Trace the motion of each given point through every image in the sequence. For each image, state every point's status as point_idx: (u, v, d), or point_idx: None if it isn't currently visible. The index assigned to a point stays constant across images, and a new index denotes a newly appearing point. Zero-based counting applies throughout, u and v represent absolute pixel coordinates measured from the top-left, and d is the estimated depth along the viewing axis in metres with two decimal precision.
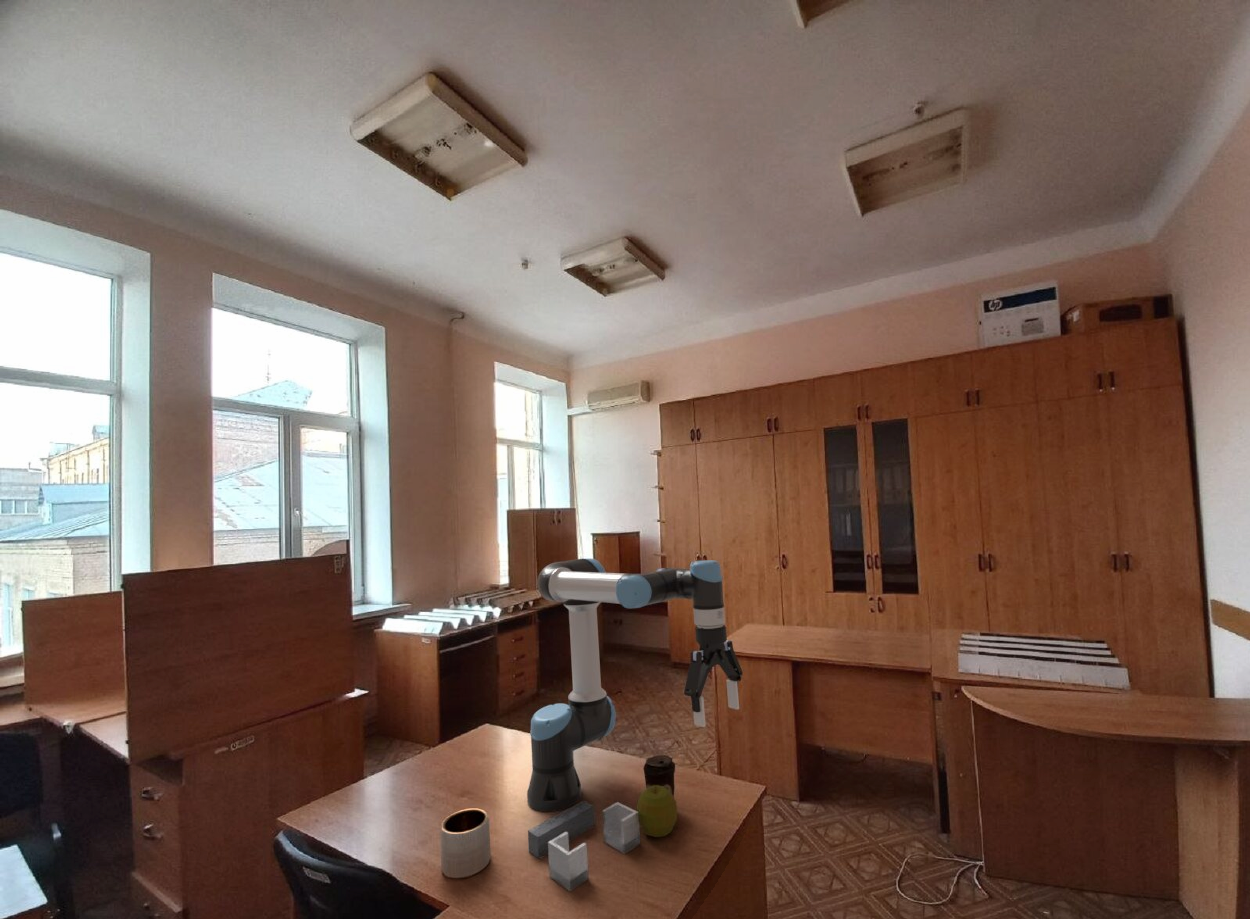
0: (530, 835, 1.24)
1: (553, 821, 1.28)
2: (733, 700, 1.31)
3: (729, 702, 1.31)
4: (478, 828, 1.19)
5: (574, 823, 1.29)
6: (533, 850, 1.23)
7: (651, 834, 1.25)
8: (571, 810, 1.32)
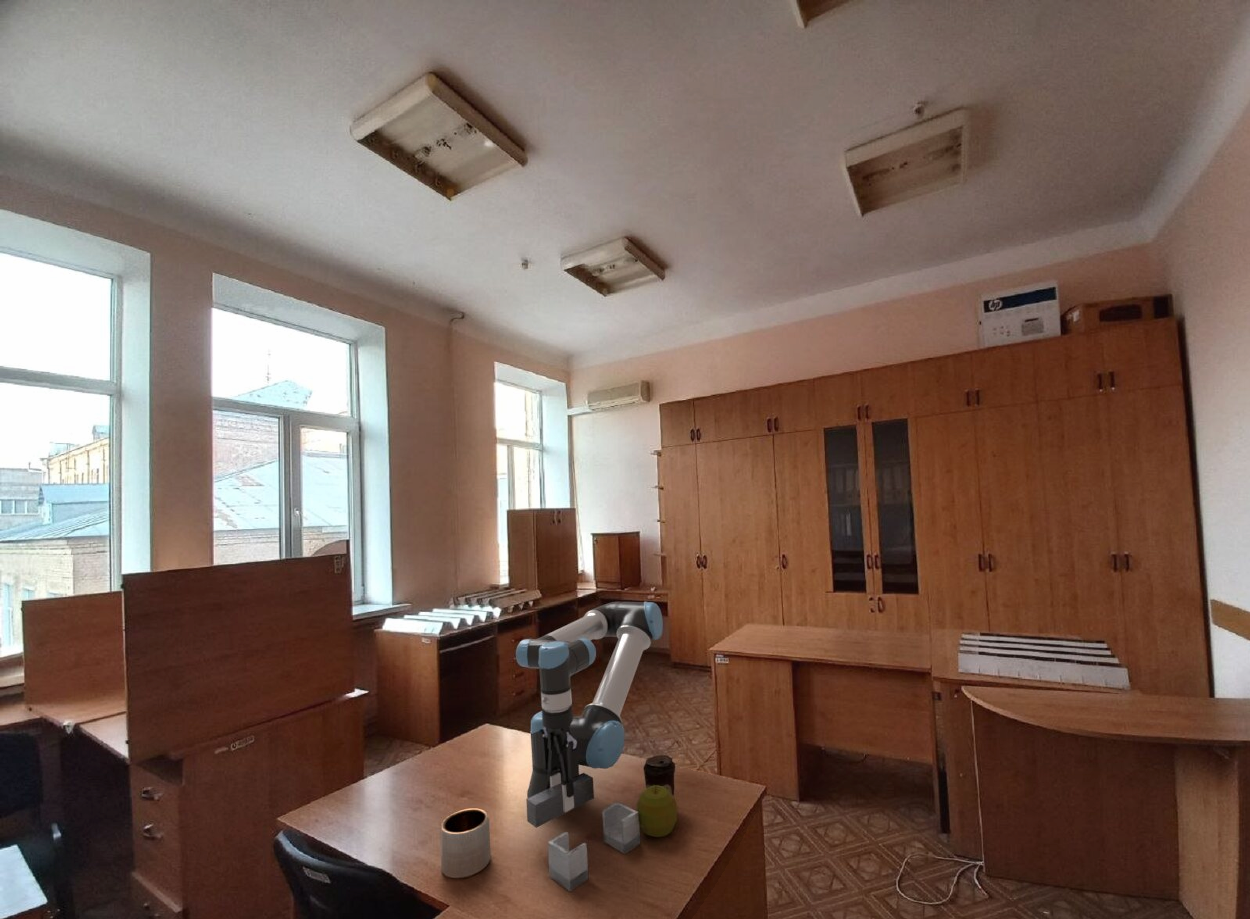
0: (528, 804, 1.25)
1: (552, 791, 1.29)
2: None
3: None
4: (478, 828, 1.19)
5: None
6: (531, 818, 1.24)
7: (651, 834, 1.25)
8: None
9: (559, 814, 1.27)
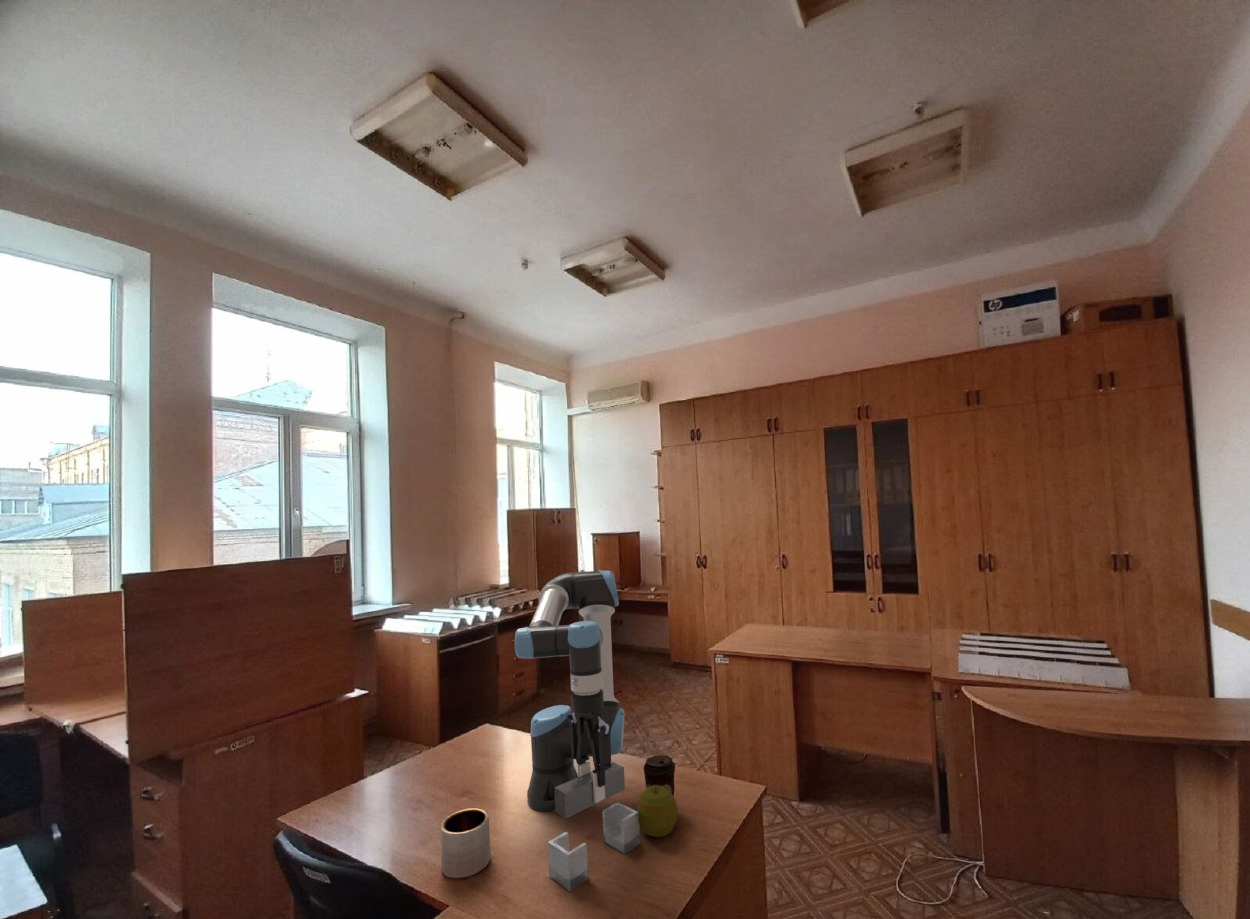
0: (557, 792, 1.16)
1: (581, 780, 1.20)
2: None
3: None
4: (478, 828, 1.19)
5: None
6: (560, 808, 1.15)
7: (651, 834, 1.25)
8: None
9: (589, 805, 1.18)
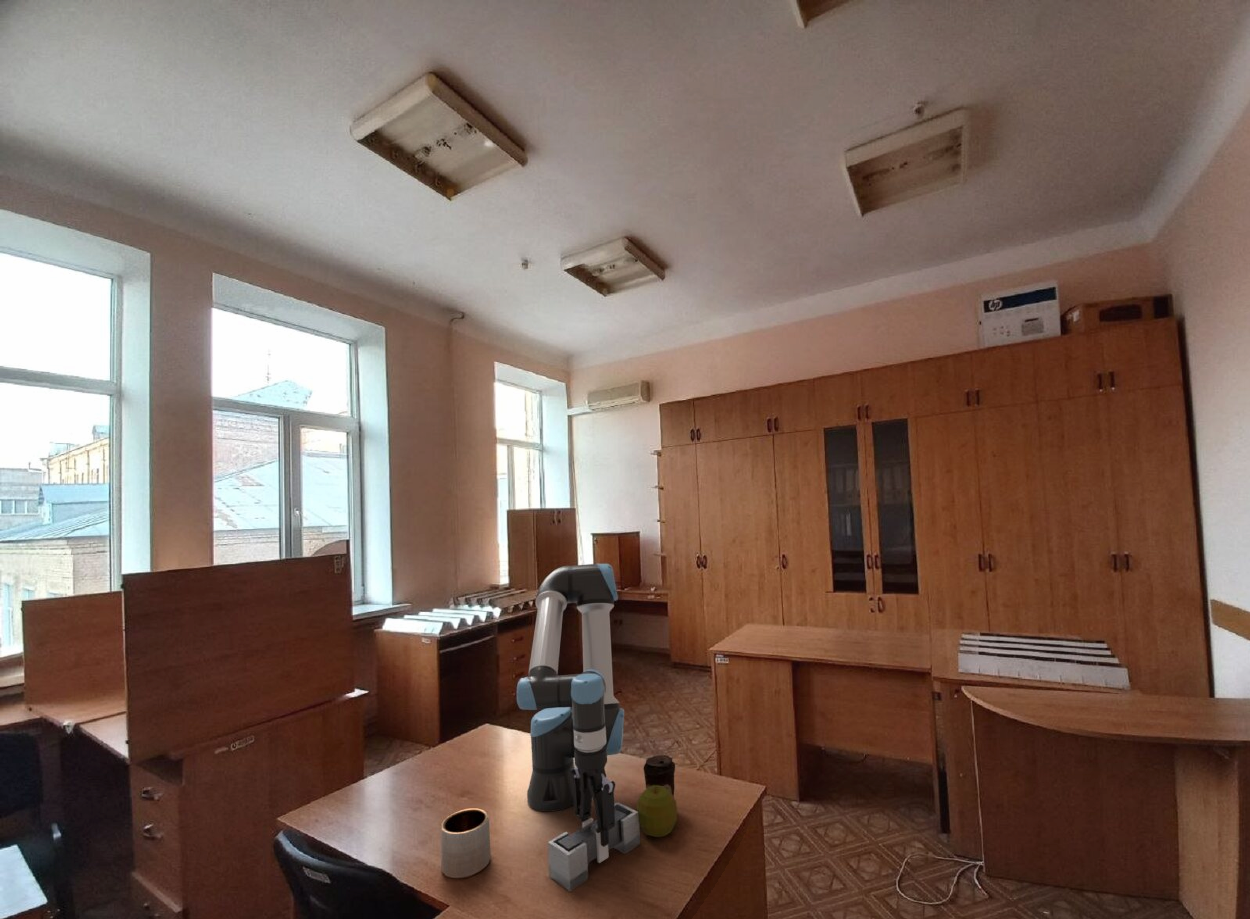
0: None
1: (584, 831, 1.19)
2: None
3: None
4: (478, 828, 1.19)
5: None
6: None
7: (651, 834, 1.25)
8: None
9: (593, 857, 1.17)
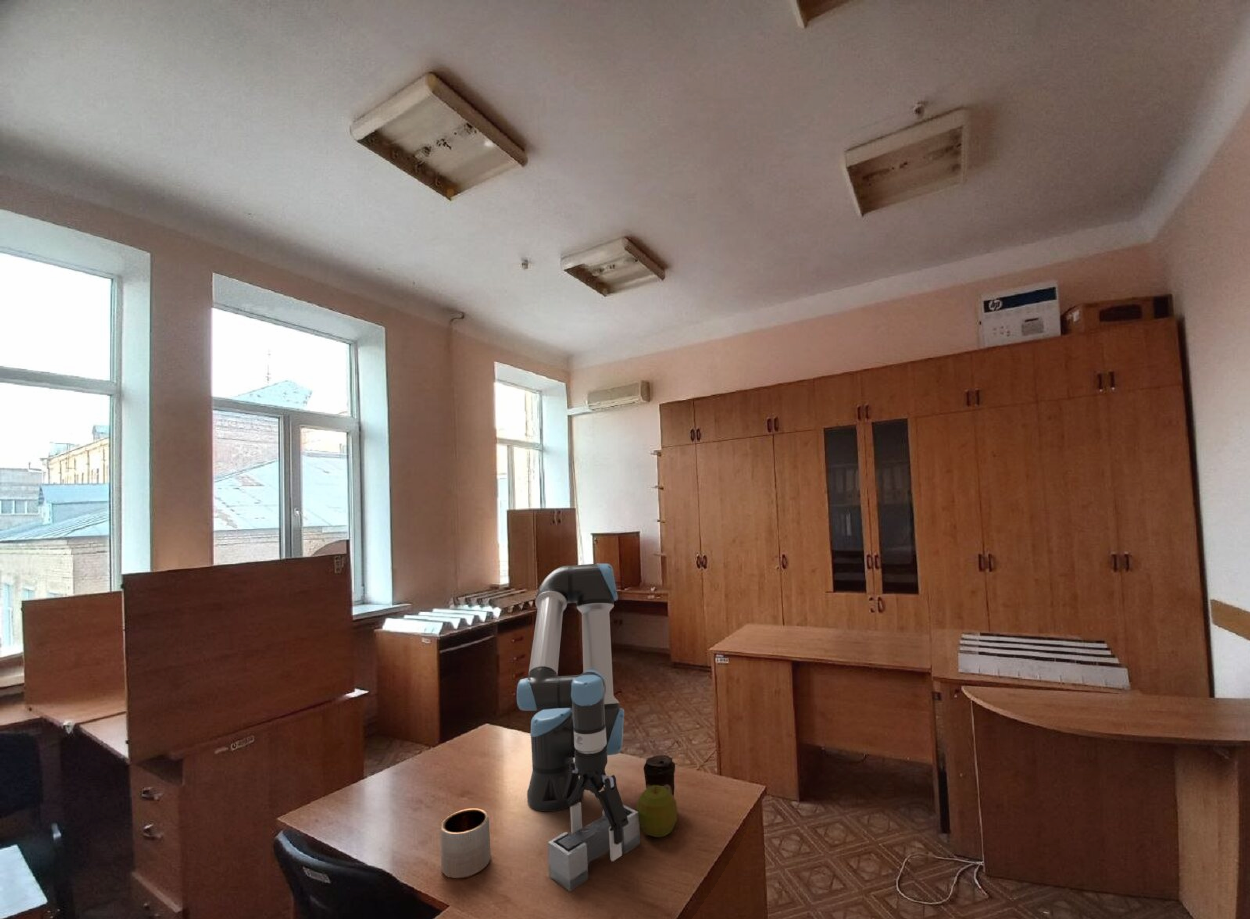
0: None
1: (584, 831, 1.19)
2: None
3: None
4: (478, 828, 1.19)
5: (607, 833, 1.20)
6: None
7: (651, 834, 1.25)
8: (603, 819, 1.23)
9: (593, 857, 1.17)
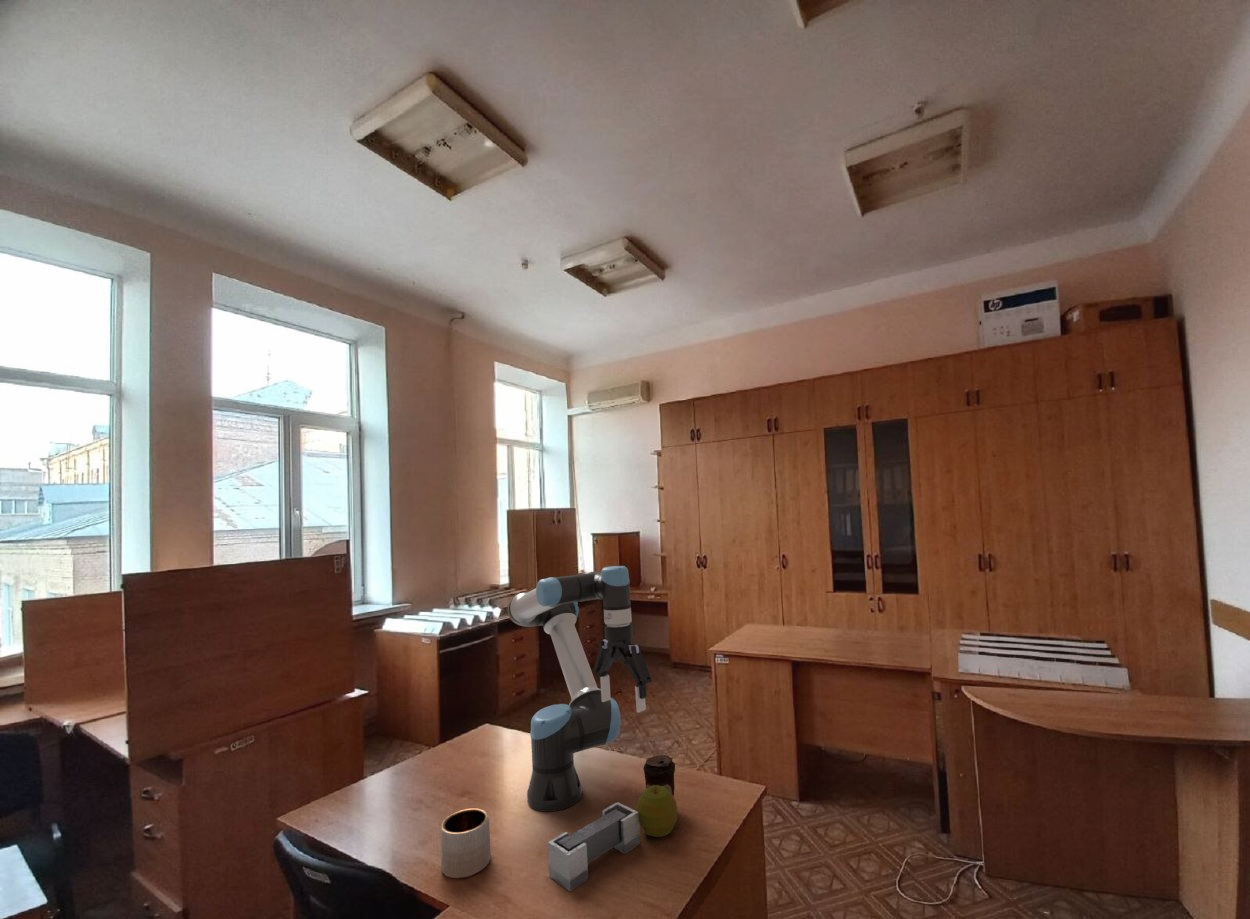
0: None
1: (584, 831, 1.19)
2: None
3: None
4: (478, 828, 1.19)
5: (607, 833, 1.20)
6: None
7: (651, 834, 1.25)
8: (603, 819, 1.23)
9: (593, 857, 1.17)
